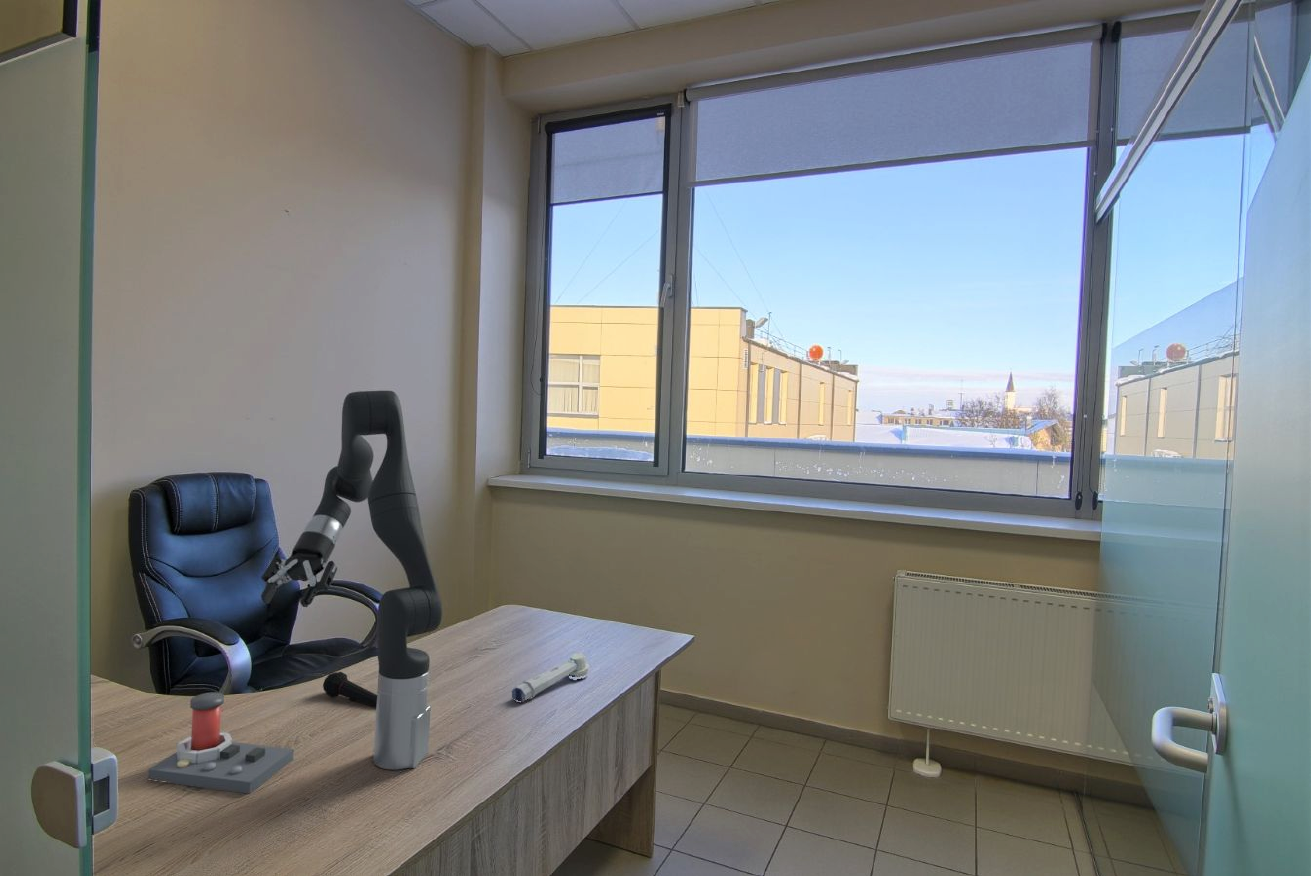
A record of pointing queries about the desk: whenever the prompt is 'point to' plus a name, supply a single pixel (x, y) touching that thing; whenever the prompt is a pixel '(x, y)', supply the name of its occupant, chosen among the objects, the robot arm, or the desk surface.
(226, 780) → the grey control panel
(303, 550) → the robot arm
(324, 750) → the desk surface
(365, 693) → the microphone
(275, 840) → the desk surface
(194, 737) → the cap
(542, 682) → the toothbrush head
